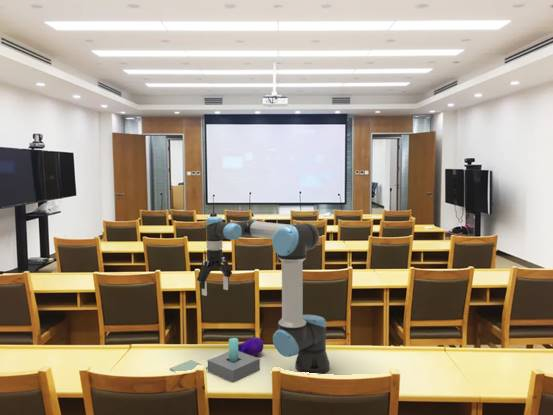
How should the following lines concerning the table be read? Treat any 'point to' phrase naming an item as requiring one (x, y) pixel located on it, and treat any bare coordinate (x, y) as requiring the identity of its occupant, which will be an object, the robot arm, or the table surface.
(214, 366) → the socket
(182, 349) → the table surface
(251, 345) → the toy
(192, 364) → the mat
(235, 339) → the plug
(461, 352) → the table surface
